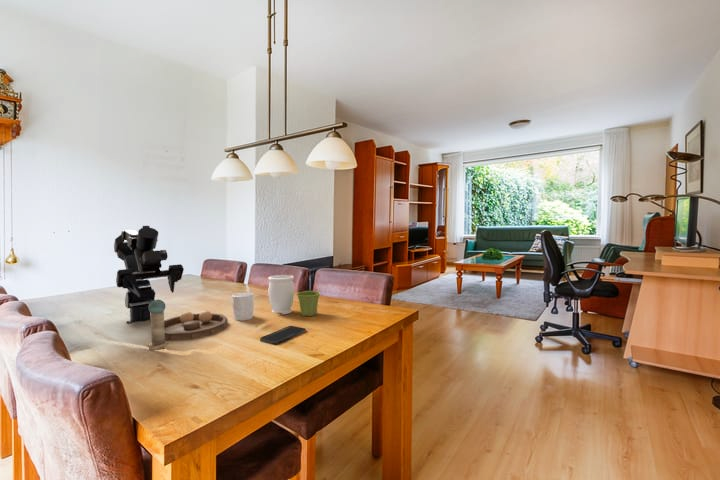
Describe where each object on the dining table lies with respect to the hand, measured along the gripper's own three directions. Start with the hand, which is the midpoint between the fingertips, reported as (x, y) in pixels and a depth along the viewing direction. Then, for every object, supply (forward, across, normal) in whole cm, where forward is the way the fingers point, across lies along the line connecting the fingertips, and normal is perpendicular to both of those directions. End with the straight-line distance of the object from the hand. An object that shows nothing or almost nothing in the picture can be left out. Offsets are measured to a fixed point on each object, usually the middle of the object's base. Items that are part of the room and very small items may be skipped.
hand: (157, 293), depth 108 cm
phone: (+30, +30, -5) cm, 43 cm away
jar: (+10, +45, +11) cm, 47 cm away
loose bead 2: (+6, +16, +13) cm, 21 cm away
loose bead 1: (+3, +11, +15) cm, 19 cm away
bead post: (+16, -2, +6) cm, 17 cm away
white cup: (+10, +29, +12) cm, 32 cm away
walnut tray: (+9, +10, +12) cm, 18 cm away
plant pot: (+18, +51, +4) cm, 54 cm away
